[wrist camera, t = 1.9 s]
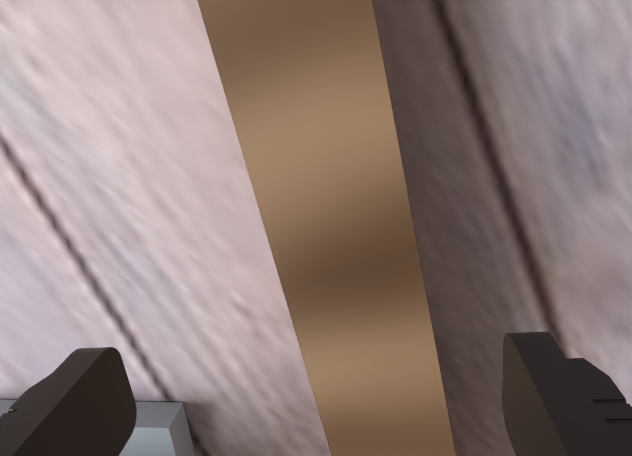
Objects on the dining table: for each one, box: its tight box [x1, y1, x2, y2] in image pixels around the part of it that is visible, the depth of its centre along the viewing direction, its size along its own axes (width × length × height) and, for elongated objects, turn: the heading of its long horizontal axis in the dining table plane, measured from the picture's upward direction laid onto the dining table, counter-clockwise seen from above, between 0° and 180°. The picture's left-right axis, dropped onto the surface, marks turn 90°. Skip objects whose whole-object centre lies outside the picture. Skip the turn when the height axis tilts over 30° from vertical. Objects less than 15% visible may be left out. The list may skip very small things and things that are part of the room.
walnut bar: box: [198, 0, 456, 456], centre depth 15 cm, size 24×4×4 cm, turn 14°
